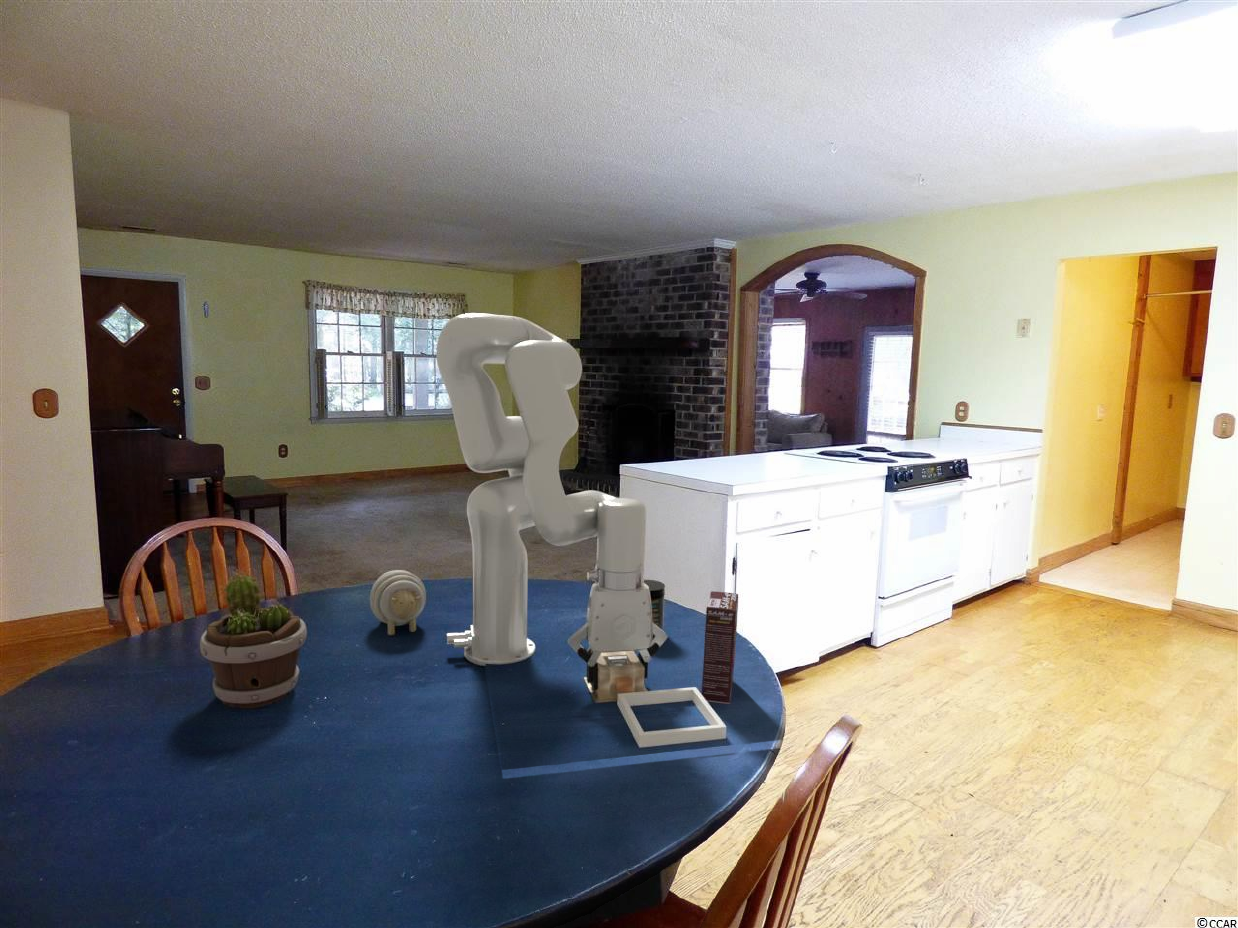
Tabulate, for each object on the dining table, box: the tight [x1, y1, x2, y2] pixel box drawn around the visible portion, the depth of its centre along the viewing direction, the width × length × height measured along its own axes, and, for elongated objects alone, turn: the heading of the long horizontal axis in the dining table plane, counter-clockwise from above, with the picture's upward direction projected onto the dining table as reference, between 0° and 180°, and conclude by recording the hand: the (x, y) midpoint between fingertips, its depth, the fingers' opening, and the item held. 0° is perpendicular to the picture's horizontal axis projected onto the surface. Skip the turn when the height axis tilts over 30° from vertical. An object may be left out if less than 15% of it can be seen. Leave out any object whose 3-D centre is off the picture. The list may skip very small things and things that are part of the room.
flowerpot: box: [199, 565, 308, 709], centre depth 112 cm, size 14×15×20 cm
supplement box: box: [700, 590, 739, 705], centre depth 117 cm, size 9×5×16 cm, turn 168°
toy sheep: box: [369, 569, 427, 636], centre depth 143 cm, size 11×17×11 cm, turn 32°
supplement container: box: [644, 579, 666, 639], centre depth 141 cm, size 7×7×10 cm
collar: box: [596, 651, 645, 699], centre depth 117 cm, size 7×8×4 cm
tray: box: [616, 686, 727, 749], centre depth 108 cm, size 13×13×2 cm
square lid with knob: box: [583, 656, 648, 704], centre depth 118 cm, size 9×9×6 cm
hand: (616, 683), depth 118 cm, fingers closed on collar, 7 cm apart
